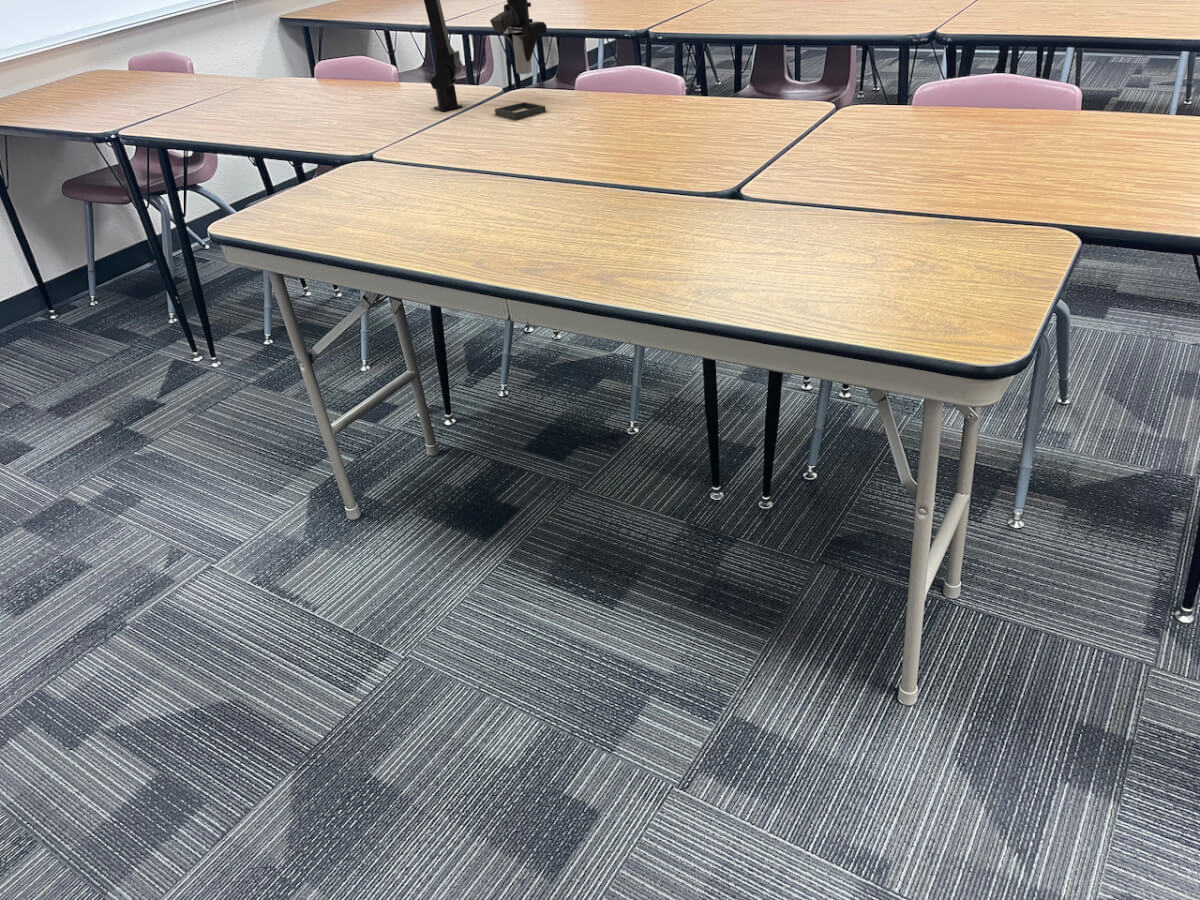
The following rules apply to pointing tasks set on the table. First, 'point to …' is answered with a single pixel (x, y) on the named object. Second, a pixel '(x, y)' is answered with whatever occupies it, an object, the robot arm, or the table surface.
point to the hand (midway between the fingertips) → (523, 60)
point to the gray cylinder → (520, 55)
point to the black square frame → (508, 113)
